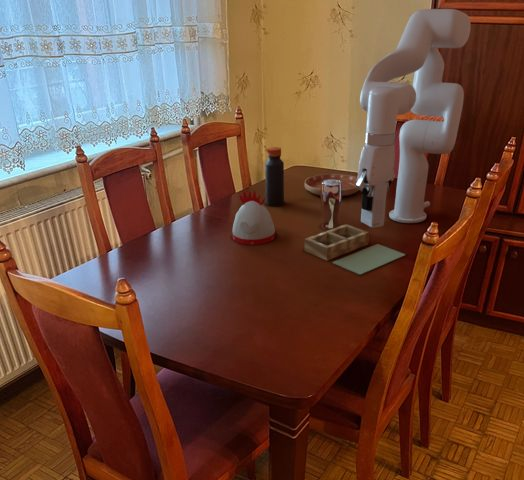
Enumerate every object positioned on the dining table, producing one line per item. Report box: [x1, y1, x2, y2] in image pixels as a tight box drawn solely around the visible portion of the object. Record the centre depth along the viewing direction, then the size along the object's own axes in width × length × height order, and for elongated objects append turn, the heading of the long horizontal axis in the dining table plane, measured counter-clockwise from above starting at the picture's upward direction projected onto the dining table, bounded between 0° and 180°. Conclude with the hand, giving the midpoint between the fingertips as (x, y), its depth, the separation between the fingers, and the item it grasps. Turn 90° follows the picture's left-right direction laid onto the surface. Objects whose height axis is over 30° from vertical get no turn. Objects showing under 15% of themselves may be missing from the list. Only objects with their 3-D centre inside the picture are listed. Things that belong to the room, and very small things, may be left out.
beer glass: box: [319, 179, 343, 231], centre depth 179 cm, size 7×7×15 cm
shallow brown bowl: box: [304, 173, 360, 197], centre depth 214 cm, size 23×23×4 cm
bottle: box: [264, 146, 285, 207], centre depth 199 cm, size 7×7×20 cm
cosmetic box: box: [360, 182, 388, 229], centre depth 151 cm, size 6×4×12 cm
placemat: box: [332, 243, 407, 276], centre depth 160 cm, size 20×11×1 cm, turn 129°
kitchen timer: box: [232, 190, 276, 246], centre depth 174 cm, size 14×14×15 cm
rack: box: [303, 223, 370, 261], centre depth 167 cm, size 18×10×4 cm, turn 129°
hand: (373, 206), depth 151 cm, fingers closed on cosmetic box, 5 cm apart
